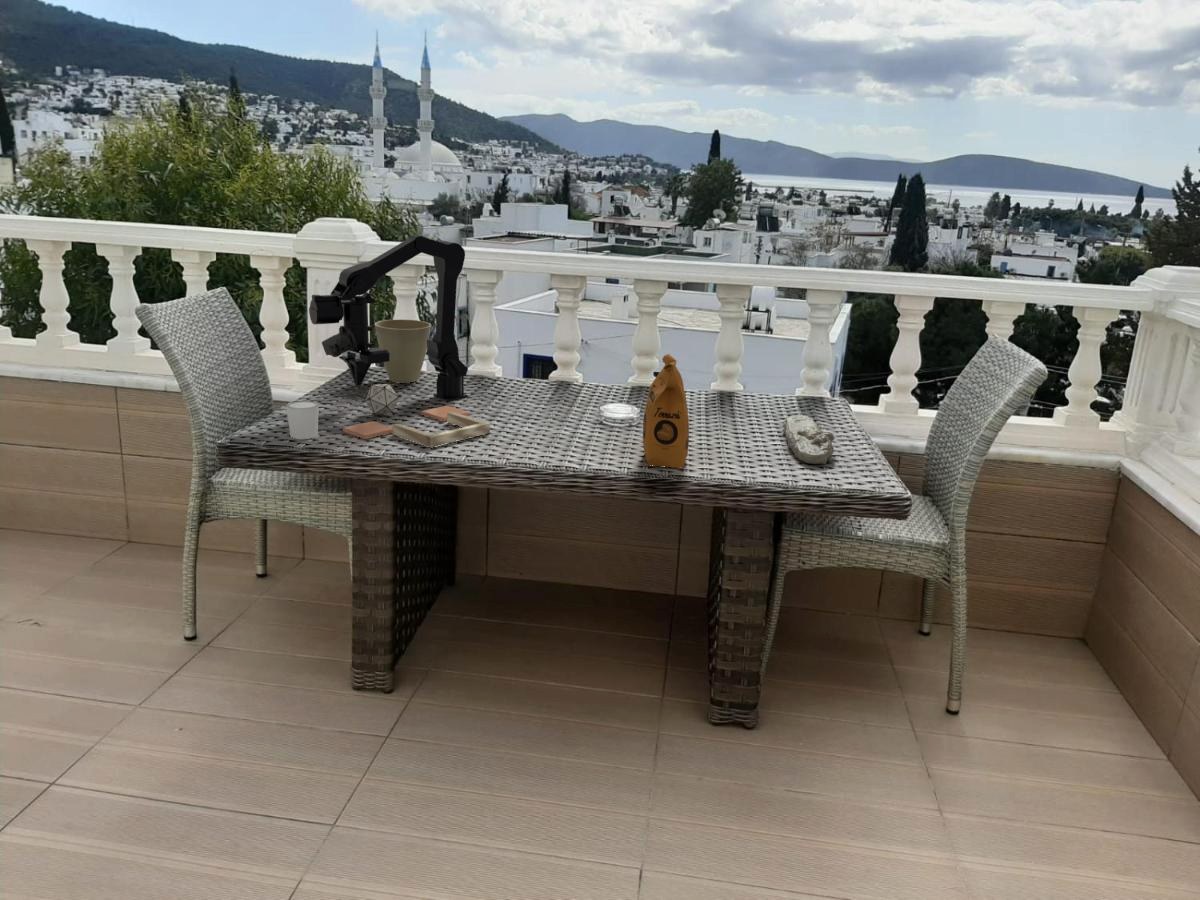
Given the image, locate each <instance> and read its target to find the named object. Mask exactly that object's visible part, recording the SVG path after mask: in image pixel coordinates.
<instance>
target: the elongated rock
mask: <svg viewBox="0 0 1200 900" xmlns="http://www.w3.org/2000/svg"><path fill="white" fill-rule="evenodd" d="M782 424H783V425H782V426H783V428H782V432H783V433H784V434H785V441H786V442H787V446H788V447H789V449H791V452H793V454H794V457H795V458H797V459H798V460H800V461H802V462H804V463H806V464H815V465H817V464H823V465H824V464H826V463H827V461H828V460H829V461H831V460H832V459H833V455H834V453H835V448H834V446H833V441H834V440H835V436H834V434H833V433H830V432H824V431H823V432H822V429H821V427H820V426H819V425H818V423H816V422H815V421H814V418H813V417H810V416H808V415H806V414H805V415H802V414H801V415H800V414H797V415H794V414H793V415H790V416H788V417H786V418H784V420H783V423H782Z"/></svg>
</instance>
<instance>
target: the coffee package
mask: <svg viewBox="0 0 1200 900" xmlns="http://www.w3.org/2000/svg"><path fill="white" fill-rule="evenodd" d="M677 361H678V360H676V358H674V357H673V356H672V355H671V354H669V353H667V354H665V355H663V356H662V362H663V363H664V366H663V367H662V368H661V370H660V372H659V373H658V374H657V376H656V377H655V378H654V379H653V381H652V383H651V384H650V386H649V390H648V394H647V397H646V398H647V399H646V402H645V403H646V404H645V409H644V415H643V421H642V443H643V444H642V445H643V450H644V455H645V459H646V462H647V464H648V466H650V465H651V466H652V465H653V466H654V467H658V466H665V467H667V468H668V467H671V468H670V469H678V468H677V467H683V468H684V467H685V463H686V459H687V458H688V455H689V447H690V446H689V443H690V420H689V419H690V418H689V412H688V411H689V409H688V403H687V397H686V396H687V395H686V393H685V392H686V391H685V387H684V385H685V384H684V381H683V377H682V374H681V373H680V371H679V369H678V367H677V366H676V365H677ZM651 466H650V467H651ZM675 467H676V468H675Z"/></svg>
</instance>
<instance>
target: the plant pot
mask: <svg viewBox="0 0 1200 900" xmlns="http://www.w3.org/2000/svg"><path fill="white" fill-rule="evenodd" d="M374 326H375V327H374V329H375V334H376V338H377V340H376V341H377V344H378V348H382V349H386V350H387V351H388V352H389V353H390V361H387V362H382V363H383V365H384V368H385V371H386V373H387V376H388V378H389V381H392V382H391V383H394V382H399V383H398V384H400V383H407V384H411V383H410V382H414V381H416V382H417V381H418V379H419V377H420V374H421V371H422V369H423V368H422V367H423V365H424V361H425V358H426V356H427V355H426V352H427V340H428V339H429V340H430V331H431V326H432V325H431V323H429V322H426V321H423V320H417V319H416V320H415V319H384V320H379V321H376V322H375V323H374ZM414 383H415V382H414Z"/></svg>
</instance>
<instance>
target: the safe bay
mask: <svg viewBox="0 0 1200 900" xmlns="http://www.w3.org/2000/svg"><path fill="white" fill-rule="evenodd" d="M446 422H448V423H451V424H450V425H452V424H455V425H458V426H462V428H461V427H458V426H457V428H454V429H450V430H446V431H442V432H439V433H433V434H431V433H429V432H425V431H422V430H419V429H417V428H413V427H410V426H408V425H405V424H401V423H395V424H393V427H392V428H393V429H394V433H393V436H394V435H396V436H399V437H402V438H405V439H408V440H411V441H414V442H417V443H420V444H423V445H426V446H429V447H435V446H438V445H441V444H445V443H448V442H452V441H456V440H461V439H464V438H469V437H473V436H477V435H482V434H486V433H490V434H491V422H487V421H483V420H479V419H477V418H474V417H470V416H464V415H461V414H458V413H454V412H449V413H447V421H446ZM448 423H447V424H448ZM455 425H454V426H455ZM396 436H395V437H396ZM399 437H398V438H399ZM402 438H401V439H402ZM405 439H404V440H405ZM408 440H407V441H408ZM411 441H410V442H411ZM414 442H413V443H414ZM417 443H416V444H417Z"/></svg>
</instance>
